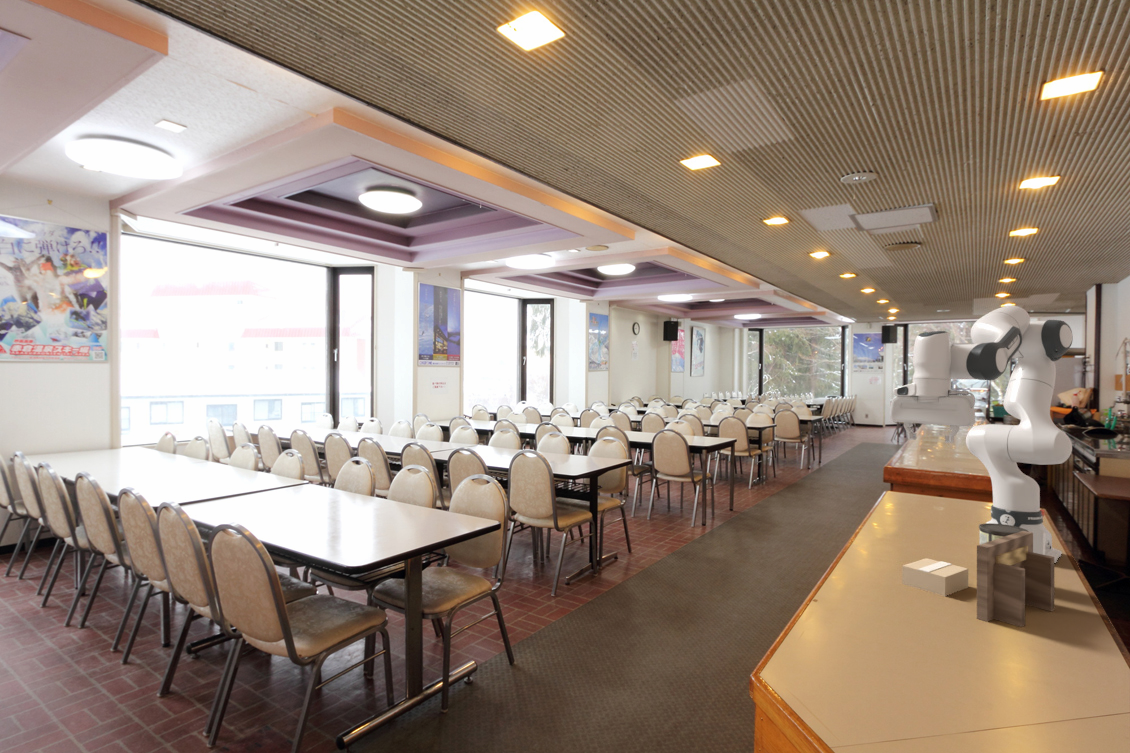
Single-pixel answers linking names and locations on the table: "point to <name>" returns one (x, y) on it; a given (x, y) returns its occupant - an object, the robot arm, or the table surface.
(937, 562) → the carton
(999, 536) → the coffee can
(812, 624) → the table surface
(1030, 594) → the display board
